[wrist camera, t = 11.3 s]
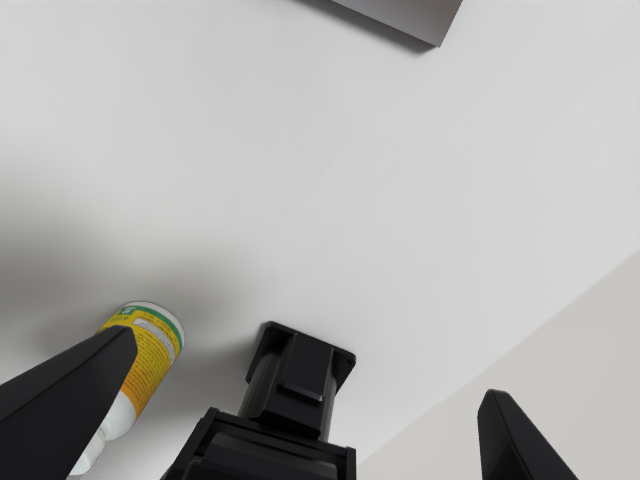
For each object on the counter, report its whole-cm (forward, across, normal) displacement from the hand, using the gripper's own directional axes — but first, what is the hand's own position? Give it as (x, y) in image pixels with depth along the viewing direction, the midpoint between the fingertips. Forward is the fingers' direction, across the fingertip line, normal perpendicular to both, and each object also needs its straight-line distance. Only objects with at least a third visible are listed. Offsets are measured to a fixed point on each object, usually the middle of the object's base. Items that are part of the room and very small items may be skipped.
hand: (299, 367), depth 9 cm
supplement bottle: (+12, +13, +13) cm, 22 cm away
